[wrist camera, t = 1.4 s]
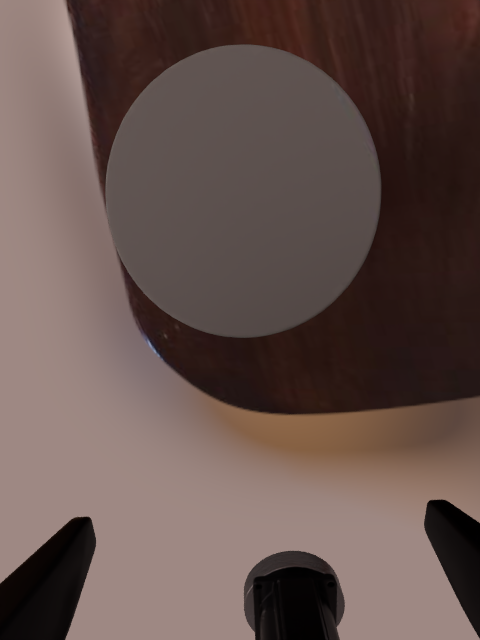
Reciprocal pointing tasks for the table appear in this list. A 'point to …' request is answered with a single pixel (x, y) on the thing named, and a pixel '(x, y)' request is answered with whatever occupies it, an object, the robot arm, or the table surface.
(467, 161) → the table surface
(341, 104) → the container
